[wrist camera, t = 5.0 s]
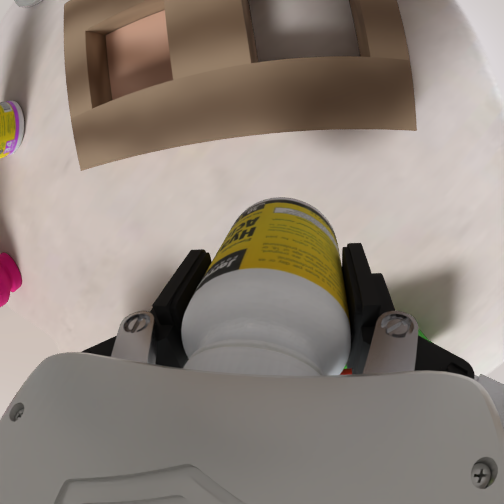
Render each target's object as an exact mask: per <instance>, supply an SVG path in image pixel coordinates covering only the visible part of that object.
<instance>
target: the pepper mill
mask: <svg viewBox="0 0 504 504" xmlns="http://www.w3.org/2000/svg"><path fill="white" fill-rule="evenodd" d="M21 284H22V279H21V275H20V272H19V269H18V267H17V265H16V264H15V262H14V261H13V259H12V258H11V257H10V256H9V255H8V254H7V253H1V254H0V307H1V306H3V305H4V304H6V303H7V302H8V300H9V296H10V291H11V292H15V291H16V290H17V289H18V288H19V287H20V286H21Z"/></svg>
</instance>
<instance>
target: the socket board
mask: <svg viewBox="0 0 504 504" xmlns="http://www.w3.org/2000/svg"><path fill="white" fill-rule="evenodd" d="M349 2H350V7H351V11H352V15H353V20H354V25H355V30H356V35H357V40H358V45H359V51H360V57H357V56H329V57H306V58H292V59H281V60H272V61H264V62H258V58H257V51H256V45H255V38H254V32H253V26H252V20H251V14H250V8H249V2H248V0H70V1H68V2H67V3H66V4H64V56H65V71H66V83H67V92H68V101H69V109H70V116H71V122H72V128H73V134H74V140H75V145H76V150H77V155H78V160H79V164H80V169H81V171H82V170H85V169H89V168H92V167H96V166H99V165H102V164H106V163H110V162H113V161H117V160H121V159H125V158H129V157H133V156H137V155H141V154H146V153H150V152H155V151H159V150H164V149H169V148H174V147H179V146H184V145H190V144H195V143H201V142H207V141H213V140H220V139H227V138H234V137H242V136H250V135H259V134H269V133H280V132H293V131H308V130H330V129H390V130H412V131H417V127H416V111H415V99H414V89H413V80H412V73H411V66H410V59H409V53H408V47H407V42H406V37H405V32H404V27H403V23H402V19H401V15H400V11H399V7H398V3H397V0H349Z"/></svg>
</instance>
